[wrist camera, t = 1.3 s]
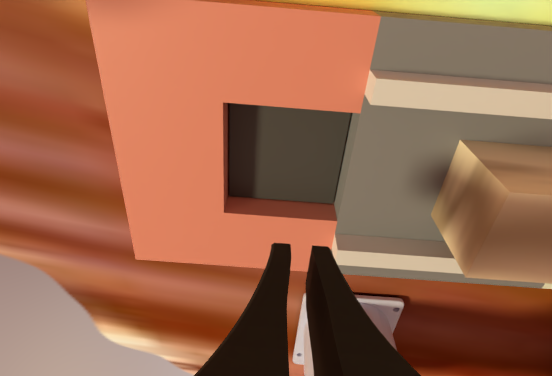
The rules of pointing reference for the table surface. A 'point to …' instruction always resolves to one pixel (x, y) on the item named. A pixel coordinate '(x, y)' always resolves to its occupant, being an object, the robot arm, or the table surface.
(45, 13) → the table surface
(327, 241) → the chute board
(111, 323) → the table surface
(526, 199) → the maple block
